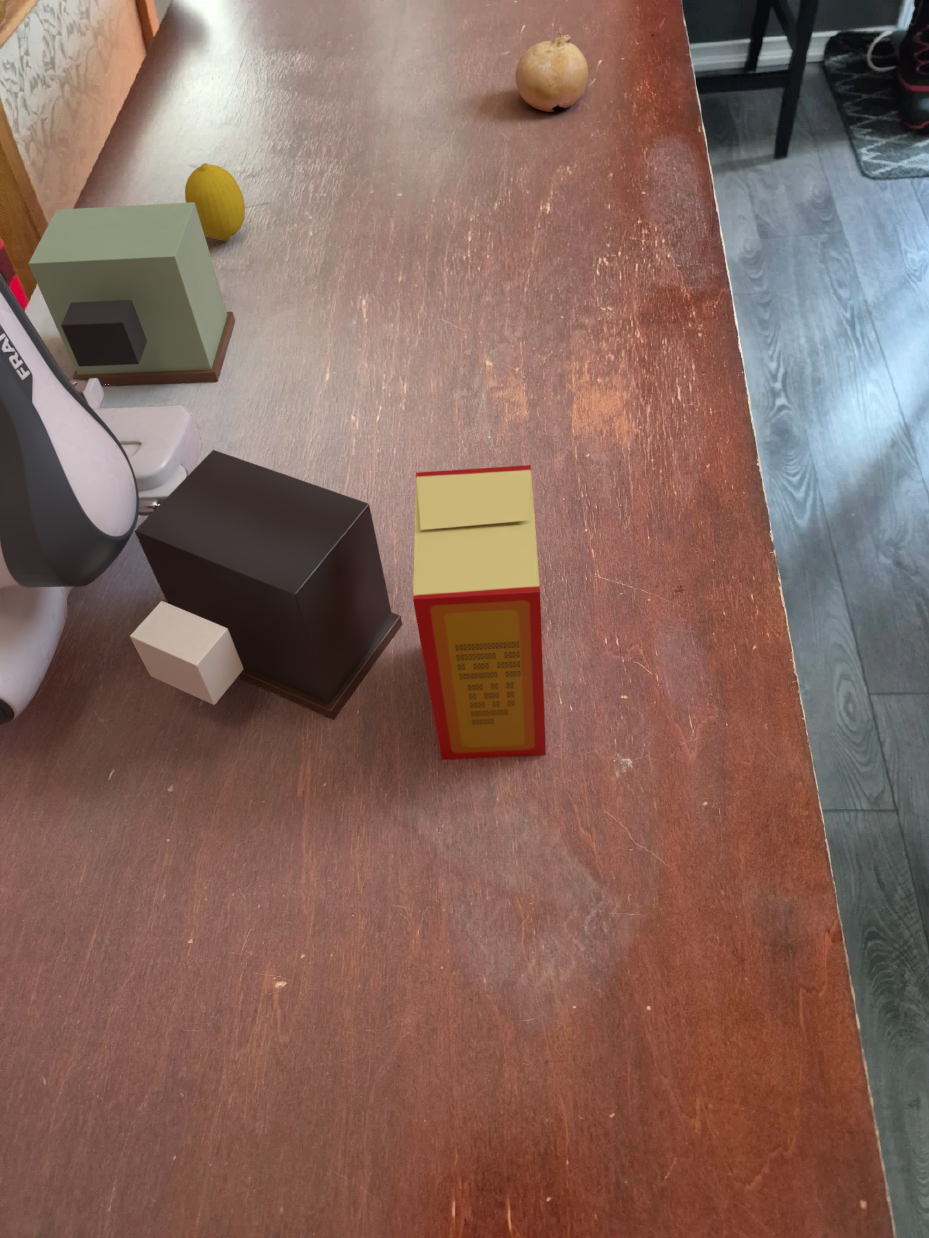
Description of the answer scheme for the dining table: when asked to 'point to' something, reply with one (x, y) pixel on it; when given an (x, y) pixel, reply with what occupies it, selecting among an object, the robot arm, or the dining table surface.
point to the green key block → (140, 286)
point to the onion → (552, 74)
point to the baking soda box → (480, 610)
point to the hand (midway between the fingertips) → (82, 385)
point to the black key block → (276, 576)
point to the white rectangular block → (187, 652)
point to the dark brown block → (104, 333)
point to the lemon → (216, 201)
